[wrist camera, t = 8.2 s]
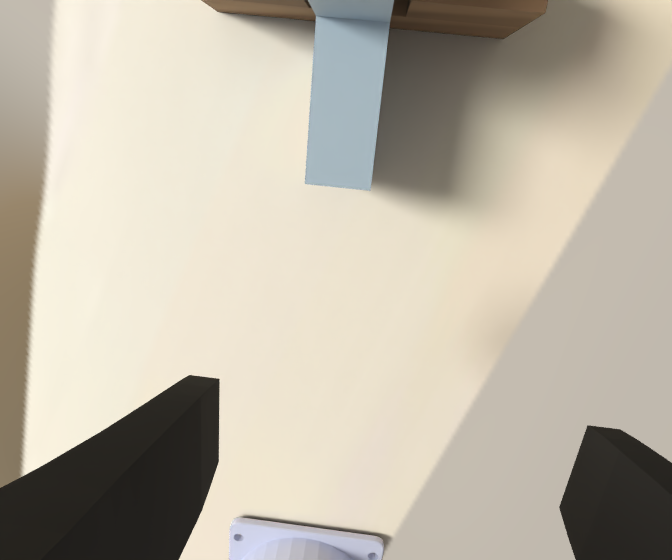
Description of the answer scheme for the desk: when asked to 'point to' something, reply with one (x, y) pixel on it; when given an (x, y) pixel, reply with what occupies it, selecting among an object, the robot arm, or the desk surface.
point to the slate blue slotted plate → (346, 91)
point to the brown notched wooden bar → (416, 14)
